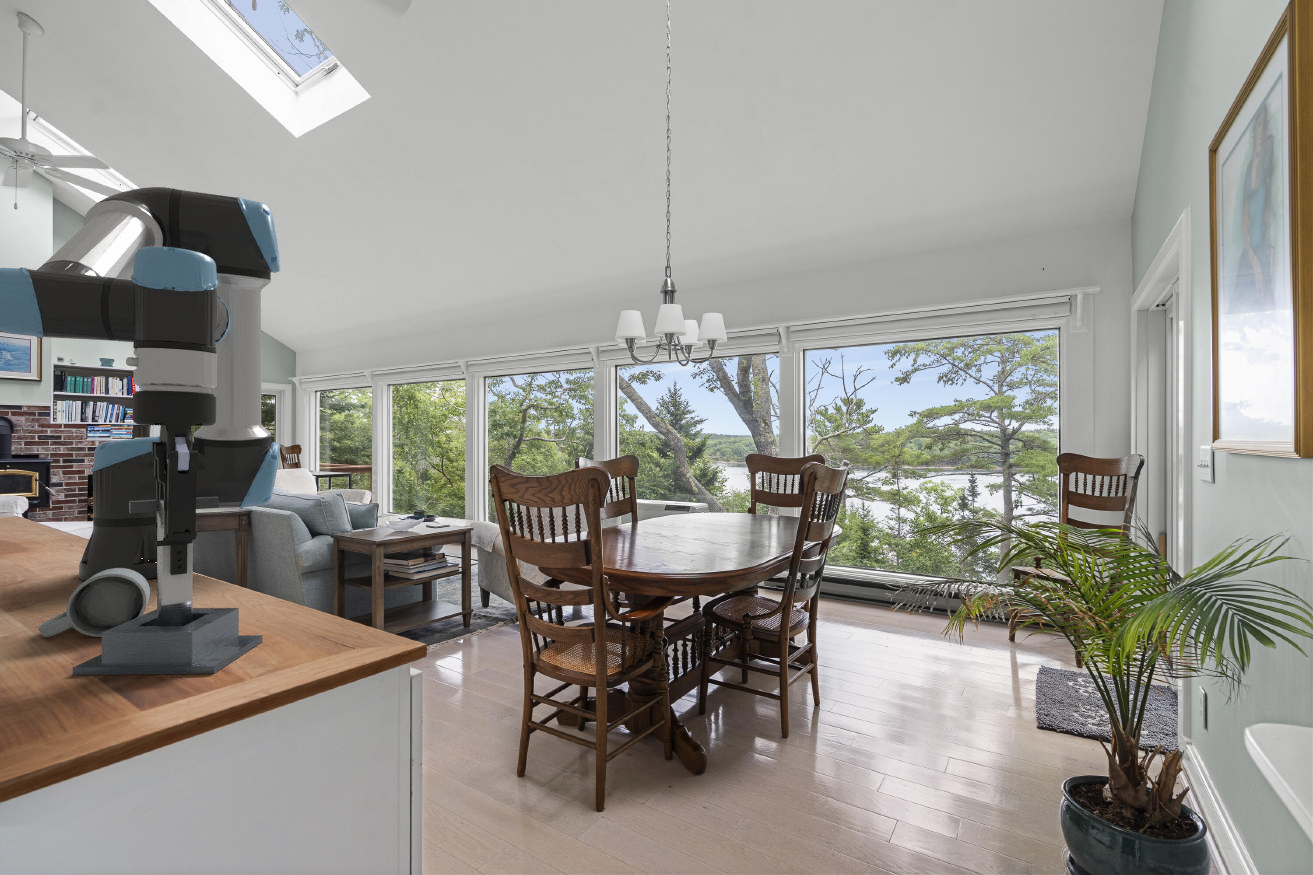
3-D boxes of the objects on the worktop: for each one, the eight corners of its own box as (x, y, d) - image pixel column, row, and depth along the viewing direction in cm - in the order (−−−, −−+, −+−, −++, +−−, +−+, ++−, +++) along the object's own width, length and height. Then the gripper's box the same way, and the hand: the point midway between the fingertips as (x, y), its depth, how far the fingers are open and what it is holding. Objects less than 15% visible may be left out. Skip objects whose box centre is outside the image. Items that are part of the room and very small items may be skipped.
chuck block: (139, 642, 78) (139, 606, 78) (262, 641, 79) (262, 606, 79) (72, 675, 68) (72, 634, 68) (214, 673, 69) (214, 633, 69)
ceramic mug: (152, 614, 89) (150, 558, 88) (147, 631, 82) (145, 571, 82) (46, 628, 83) (45, 568, 82) (31, 648, 76) (30, 582, 76)
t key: (130, 642, 70) (130, 503, 69) (128, 635, 72) (128, 500, 72) (219, 628, 75) (220, 498, 75) (214, 621, 77) (215, 495, 77)
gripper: (126, 390, 76) (126, 589, 77) (139, 386, 64) (138, 622, 65) (204, 393, 81) (203, 580, 82) (229, 390, 69) (227, 609, 70)
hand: (174, 598), depth 73 cm, fingers closed on t key, 3 cm apart
